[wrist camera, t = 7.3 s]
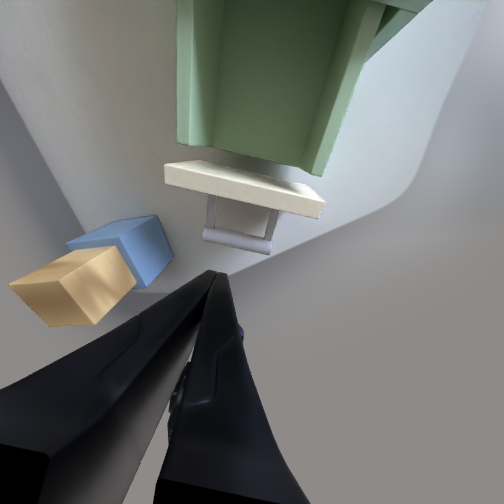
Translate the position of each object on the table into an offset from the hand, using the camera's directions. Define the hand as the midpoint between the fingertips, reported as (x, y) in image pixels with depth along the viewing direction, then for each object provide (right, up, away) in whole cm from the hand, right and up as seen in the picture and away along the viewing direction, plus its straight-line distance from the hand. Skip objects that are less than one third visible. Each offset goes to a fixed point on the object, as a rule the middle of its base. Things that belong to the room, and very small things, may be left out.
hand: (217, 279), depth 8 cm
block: (-12, 0, +9) cm, 15 cm away
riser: (-12, +3, +14) cm, 19 cm away
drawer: (+2, +11, +8) cm, 13 cm away
